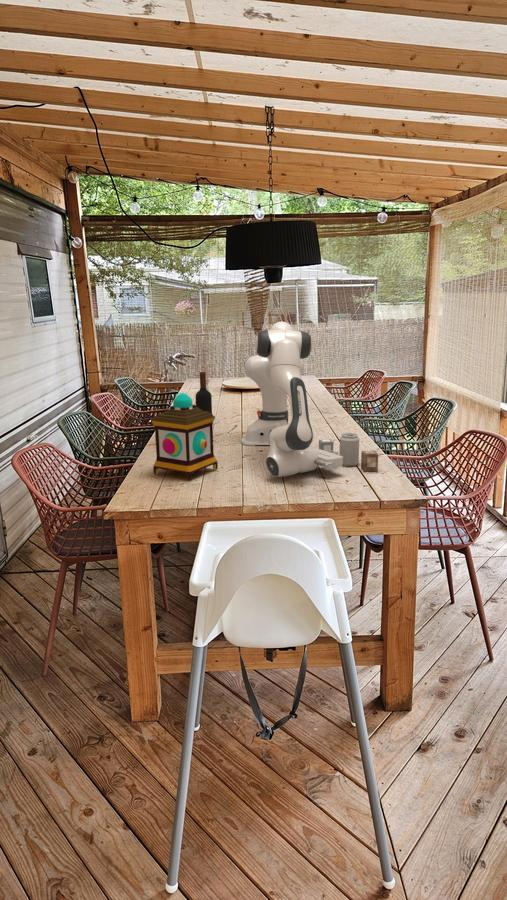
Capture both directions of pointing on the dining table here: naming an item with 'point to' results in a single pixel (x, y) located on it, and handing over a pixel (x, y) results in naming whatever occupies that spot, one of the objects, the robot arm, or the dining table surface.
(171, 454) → the decorative lantern
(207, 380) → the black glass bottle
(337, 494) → the dining table surface
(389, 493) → the dining table surface
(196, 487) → the dining table surface
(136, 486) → the dining table surface
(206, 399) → the wine bottle
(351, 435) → the can
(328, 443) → the slate block
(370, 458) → the walnut block
